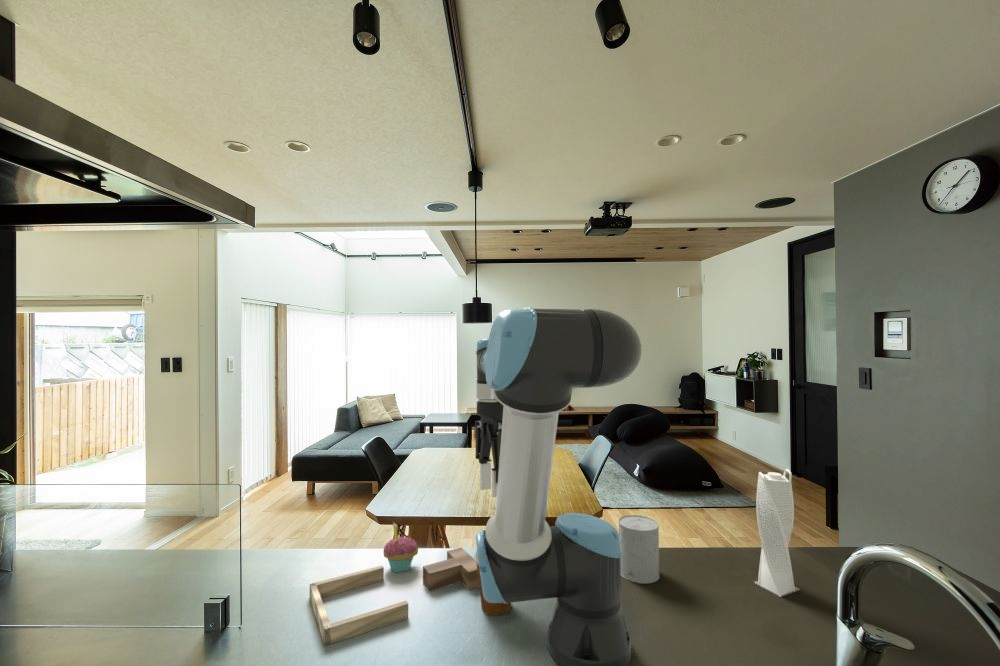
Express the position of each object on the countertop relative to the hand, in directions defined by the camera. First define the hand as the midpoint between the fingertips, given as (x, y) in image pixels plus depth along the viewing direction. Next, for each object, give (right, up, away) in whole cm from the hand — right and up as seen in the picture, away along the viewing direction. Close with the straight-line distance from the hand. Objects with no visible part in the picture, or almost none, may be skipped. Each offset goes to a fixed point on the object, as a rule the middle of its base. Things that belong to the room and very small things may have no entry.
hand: (491, 492), depth 113 cm
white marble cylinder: (+36, -19, -3) cm, 41 cm away
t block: (-10, -19, -6) cm, 22 cm away
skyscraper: (+66, -19, -10) cm, 69 cm away
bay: (-28, -18, -17) cm, 38 cm away
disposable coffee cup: (+1, -19, -17) cm, 25 cm away
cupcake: (-23, -19, 0) cm, 30 cm away
